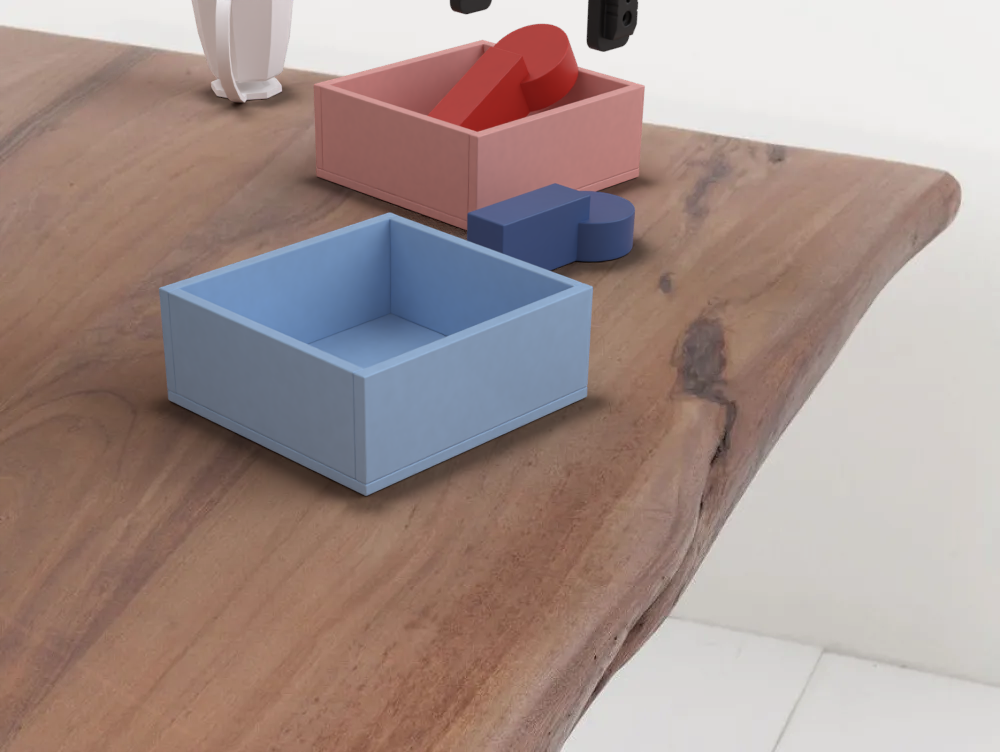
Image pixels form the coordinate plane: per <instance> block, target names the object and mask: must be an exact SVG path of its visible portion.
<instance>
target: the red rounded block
mask: <svg viewBox="0 0 1000 752" xmlns="http://www.w3.org/2000/svg"><path fill="white" fill-rule="evenodd" d="M578 67H579V66H578V63H577V59H576V57H575V54H574V51H573V48H572V45H571V42H570V39H569V36H568V35H567V33H566V32H565V31H564V30H563V29H562V28H561V27H560V26H557V25H554V24H551V23H534V24H528V25H525V26H522V27H519V28H517V29H514V30H512V31H510V32H509V33H507V34H506V35H505V36H503V37H502V38H501V39H499V40H498V41H497V42H496V44H495V45H494V47H489V49H488V50H487V51H486V52H485V53H484V54H483V55H482V56H481V57H480V58H479V59H478V61H477V62H476V63H475V64H474V65H473V66H472V67H471V68H470V69H469V70H468V71H467V73H466V74H465V75H464V76H463V77H462V78H461V79H460V80H459V81H458V82H457V84H456V85H455V86H454V87H453V88H452V89H451V90H450V91H449V92H448V93H447V94H446V96H445V97H444V98H443V99H442V100H441V101H440V102H439V103H438V104H437V105H436V107H435V108H434V109H433V110H432V111H431V112H430V113H429V114H428V115H427V116H429V117H432V118H436V119H439V120H442V121H445V122H448V123H451V124H454V125H457V126H461V127H464V128H467V129H470V130H473V131H476V132H479V131H482V130H485V129H489V128H492V127H495V126H499V125H502V124H505V123H508V122H512V121H515V120H518V119H522V118H525V117H526V116H527V115H528V114H529V113H530V112H533V111H537V110H541V109H544V108H546V107H548V106H550V105H552V104H554V103H556V102H557V101H559V100H560V99H562V98H563V97H564V96H565V95H566V94H567V93H568V92H569V91H570V90H571V89H572V87H573V86H574V84H575V82H576V80H577V77H578Z"/></svg>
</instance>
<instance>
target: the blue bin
mask: <svg viewBox="0 0 1000 752" xmlns="http://www.w3.org/2000/svg"><path fill="white" fill-rule="evenodd" d="M158 294H159V306H160V318H161V331H162V342H163V353H164V354H163V355H164V365H165V377H166V389H167V399H168V401H170V402H171V403H173V404H175V405H178V406H180V407H182V408H184V409H186V410H188V411H190V412H192V413H194V414H197V415H199V416H201V417H203V418H204V419H206V420H209V421H211V422H212V423H214V424H217V425H219V426H221V427H223V428H225V429H227V430H228V431H229V430H230V431H232V432H233V433H236V434H237V435H239V436H241V437H244V438H246V439H248V440H250V441H252V442H254V443H256V444H258V445H260V446H262V447H264V448H266V449H269V450H270V451H273V452H275V453H277V454H279V455H281V456H283V457H284V458H287V459H289V460H291V461H293V462H295V463H297V464H299V465H301V466H303V467H305V468H307V469H310V470H312V471H314V472H316V473H318V474H320V475H322V476H324V477H326V478H327V479H330V480H332V481H334V482H336V483H338V484H340V485H343V486H344V487H346V488H348V489H350V490H353V491H355V492H356V493H358V494H360V495H363V496H365V497H367V496H370V495H371V494H374V493H376V492H378V491H381V490H383V489H385V488H387V487H389V486H392V485H394V484H396V483H399V482H400V481H403V480H405V479H407V478H409V477H411V476H414V475H416V474H419V473H420V472H423V471H425V470H427V469H430V468H432V467H434V466H436V465H438V464H441V463H443V462H445V461H447V460H450V459H452V458H455V457H457V456H458V455H461V454H463V453H465V452H467V451H470V450H472V449H474V448H476V447H478V446H481V445H483V444H485V443H488V442H489V441H492V440H494V439H496V438H499V437H501V436H503V435H505V434H507V433H510V432H512V431H514V430H516V429H518V428H521V427H523V426H525V425H528V424H529V423H532V422H534V421H536V420H538V419H541V418H543V417H546V416H547V415H549V414H552V413H554V412H556V411H558V410H561V409H563V408H565V407H567V406H570V405H573V403H576V402H578V401H581V400H584V399H586V398H587V397H588V384H589V383H588V382H589V367H590V348H591V330H592V316H593V315H592V311H593V298H594V297H593V296H594V295H593V294H594V287H593V285H589V284H588V283H584V282H581V281H579V280H576V279H573V278H570V277H568V276H565V275H562V274H560V273H556V272H554V271H553V270H551V271H549V270H546V269H543V268H541V267H538V266H535V265H532V264H530V263H527V262H524V261H521V260H519V259H516V258H513V257H510V256H508V255H505V254H502V253H499V252H497V251H494V250H491V249H488V248H486V247H483V246H480V245H477V244H475V243H472V242H469V241H467V239H463V238H461V237H458V236H456V235H453V234H450V233H447V232H444V231H441V230H439V229H437V228H433V227H430V226H428V225H425V224H422V223H419V222H417V221H415V220H411V219H409V218H407V217H403V216H401V215H398V214H395V213H393V212H390V211H389V212H386V213H383V214H379V215H377V216H374V217H371V218H368V219H365V220H362V221H359V222H356V223H355V222H354V223H352V224H350V225H346V226H343V227H340V228H338V229H335V230H331V231H328V232H325V233H321V234H318V235H316V236H313V237H310V238H307V239H304V240H301V241H298V242H297V241H296V242H295V243H292V244H289V245H286V246H283V247H279V248H276V249H274V250H270V251H267V252H264V253H261V254H258V255H256V256H252V257H248V258H246V259H242V260H240V261H237V262H233V263H231V264H228V265H225V266H221V267H217V268H216V269H212V270H209V271H206V272H203V273H200V274H197V275H195V276H191V277H188V278H185V279H181V280H179V281H176V282H173V283H170V284H167V285H163V286H161V287H159V288H158Z"/></svg>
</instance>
